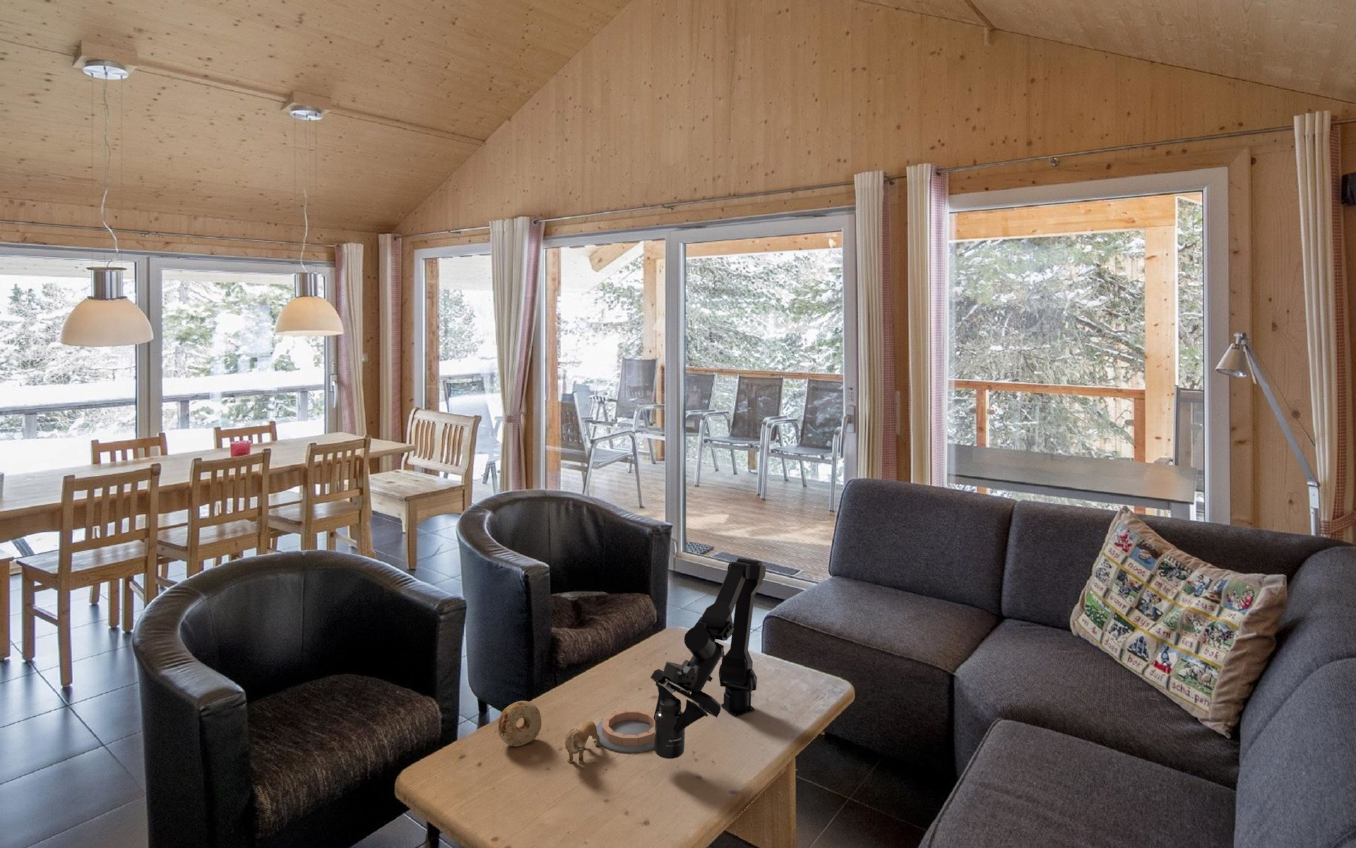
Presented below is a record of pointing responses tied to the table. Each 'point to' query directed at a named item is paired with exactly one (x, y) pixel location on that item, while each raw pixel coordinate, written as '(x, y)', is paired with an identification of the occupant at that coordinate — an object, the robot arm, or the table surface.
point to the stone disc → (526, 730)
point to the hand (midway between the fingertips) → (665, 726)
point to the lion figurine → (580, 740)
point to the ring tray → (627, 731)
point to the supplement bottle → (669, 729)
